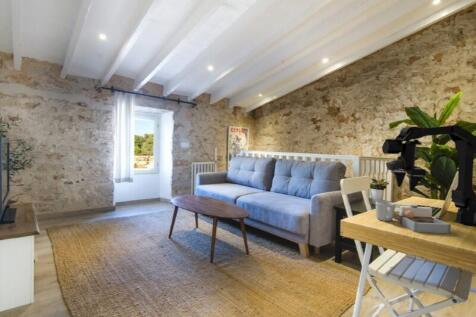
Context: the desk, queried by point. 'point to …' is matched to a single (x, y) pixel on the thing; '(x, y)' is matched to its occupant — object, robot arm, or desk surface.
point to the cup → (385, 210)
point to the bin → (427, 226)
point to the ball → (409, 214)
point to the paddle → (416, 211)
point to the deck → (415, 219)
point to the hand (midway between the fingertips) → (404, 188)
